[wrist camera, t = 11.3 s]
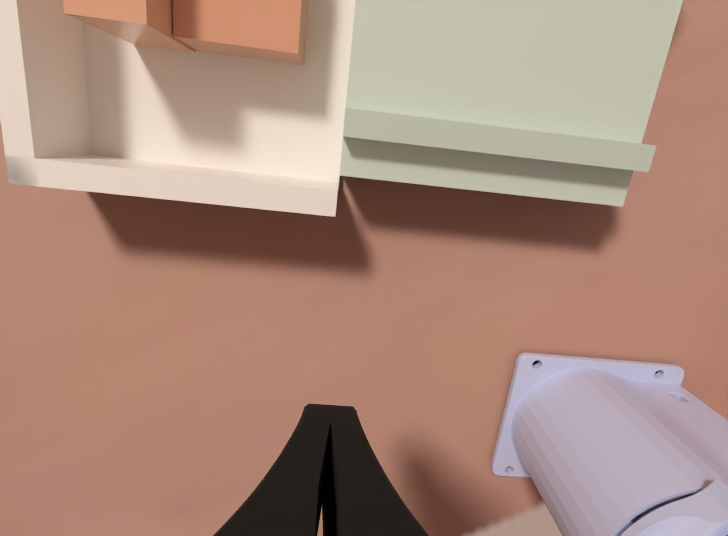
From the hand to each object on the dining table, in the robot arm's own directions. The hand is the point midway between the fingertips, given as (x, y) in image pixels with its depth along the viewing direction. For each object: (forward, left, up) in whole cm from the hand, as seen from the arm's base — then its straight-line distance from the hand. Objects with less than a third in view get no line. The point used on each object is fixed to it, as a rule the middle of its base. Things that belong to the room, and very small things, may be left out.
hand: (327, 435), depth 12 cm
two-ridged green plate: (-6, -13, -10) cm, 18 cm away
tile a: (+5, -13, -10) cm, 17 cm away
